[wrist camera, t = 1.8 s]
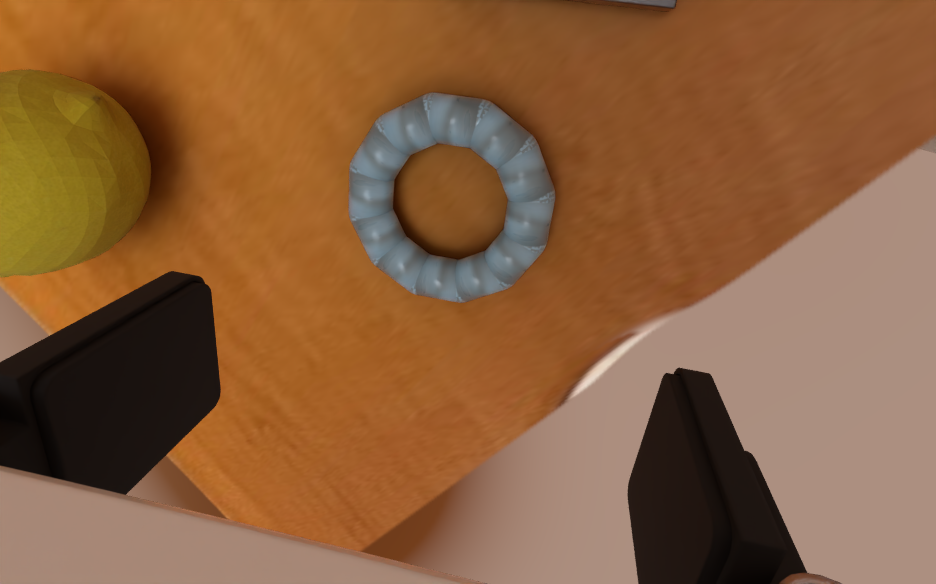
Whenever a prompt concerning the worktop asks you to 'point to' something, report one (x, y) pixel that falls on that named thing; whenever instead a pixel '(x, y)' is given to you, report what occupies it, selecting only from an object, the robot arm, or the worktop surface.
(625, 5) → the peg stand
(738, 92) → the worktop surface
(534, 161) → the ring
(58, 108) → the lemon
